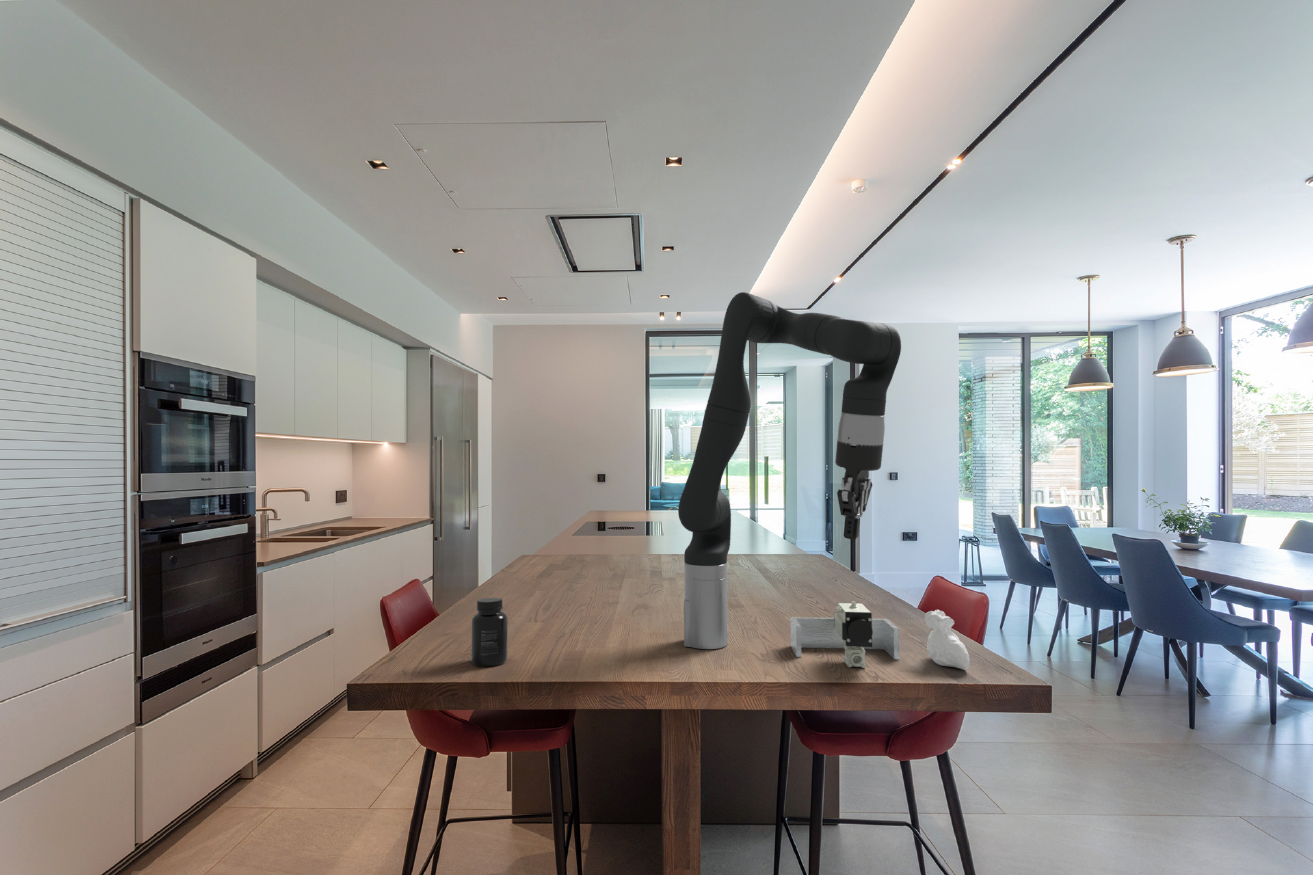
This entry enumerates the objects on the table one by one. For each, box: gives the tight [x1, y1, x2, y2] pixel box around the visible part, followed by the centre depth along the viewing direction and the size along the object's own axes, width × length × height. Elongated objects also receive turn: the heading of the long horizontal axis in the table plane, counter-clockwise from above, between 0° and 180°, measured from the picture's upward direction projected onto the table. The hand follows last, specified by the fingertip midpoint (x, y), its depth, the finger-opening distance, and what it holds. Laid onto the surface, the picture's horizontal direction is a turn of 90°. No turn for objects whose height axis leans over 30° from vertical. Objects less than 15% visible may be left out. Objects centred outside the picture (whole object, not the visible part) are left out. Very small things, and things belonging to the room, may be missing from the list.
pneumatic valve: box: [833, 600, 873, 669], centre depth 117 cm, size 6×12×12 cm, turn 173°
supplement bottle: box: [470, 597, 509, 668], centre depth 118 cm, size 7×7×12 cm
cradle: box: [790, 616, 901, 661], centre depth 124 cm, size 20×8×6 cm, turn 85°
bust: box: [923, 609, 971, 671], centre depth 117 cm, size 12×8×11 cm
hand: (850, 537), depth 106 cm, fingers closed
